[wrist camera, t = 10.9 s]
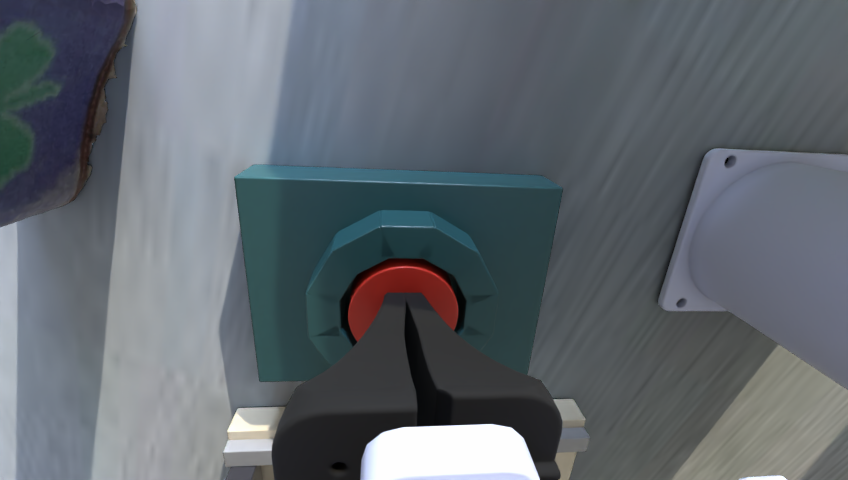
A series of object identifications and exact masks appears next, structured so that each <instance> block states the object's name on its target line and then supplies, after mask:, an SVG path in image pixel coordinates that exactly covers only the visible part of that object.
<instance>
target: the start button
mask: <svg viewBox="0 0 848 480" xmlns="http://www.w3.org/2000/svg"><path fill="white" fill-rule="evenodd" d="M388 292H390V293H422V294H423V295H424V296H425V298H426V299H427V300H428V302H429V303H430V304H431V306H432V307H433V308H434V310H435V311H436V312H437V313H438V314H439V316H440V317H441V318H442V319H443V320H444V321H445V322H446V324H447V325H448V326H449V327H450V328H451V329H452V330H453V331H454V329H455V327H456V324H457V320H458V303H457V300H456V296H455V293H454V290H453V287H452V284H451V281H450V278H449V276H448V274H447V272H446V271H444V270H443V269H441V268H439V267H437V266H435V265H434V264H432V263H430V262H428V261H427V260H425V259H401V258H389V259H387V260H385V261H383V262H381V263H379V264H377V265H375V266H373V267H371V268H369V269H367V270H365V271H363V272H361V273H359V274H357V276H356V277H355V279H354V281H353V284H352V289H351V296H350V302H349V308H348V323H349V326H350V330H351V332H352V334H353V336H354V338H355V339H356V341H357V342H358V341H359V340H360V339H361V337H362V336H363V335H364V333H365V332H366V331H367V329H368V328H369V326H370V325H371V323H372V322H373V320H374V318H375V317H376V315H377V313H378V311H379V309H380V307H381V305H382V303H383V300H384V295H385V294H386V293H388Z"/></svg>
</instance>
